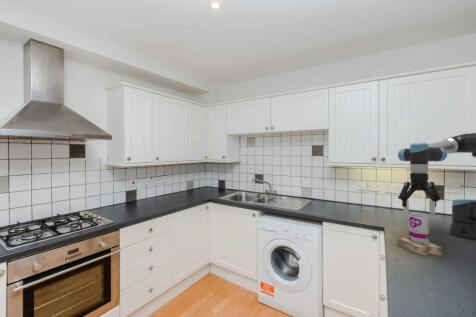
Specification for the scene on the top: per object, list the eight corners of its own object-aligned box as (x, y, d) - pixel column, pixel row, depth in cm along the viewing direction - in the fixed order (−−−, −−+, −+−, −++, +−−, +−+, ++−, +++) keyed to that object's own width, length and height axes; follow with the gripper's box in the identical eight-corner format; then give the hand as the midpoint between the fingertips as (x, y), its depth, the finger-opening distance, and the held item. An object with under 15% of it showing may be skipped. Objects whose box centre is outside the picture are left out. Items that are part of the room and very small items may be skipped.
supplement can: (420, 245, 115) (421, 215, 115) (404, 240, 123) (405, 212, 123) (432, 244, 117) (433, 214, 117) (416, 239, 125) (416, 211, 125)
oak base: (421, 245, 126) (421, 238, 126) (441, 255, 113) (441, 247, 113) (397, 245, 126) (397, 237, 126) (415, 254, 113) (415, 246, 113)
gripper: (436, 172, 124) (437, 211, 124) (390, 172, 124) (390, 211, 124) (449, 173, 116) (449, 215, 116) (400, 172, 117) (400, 214, 116)
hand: (419, 213), depth 120 cm, fingers open, 13 cm apart
